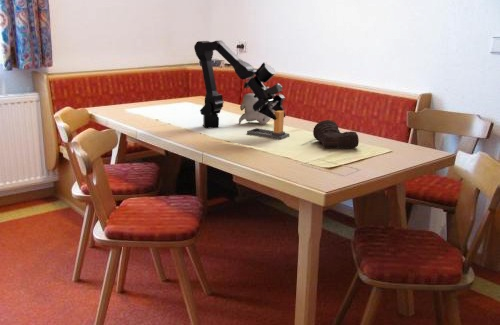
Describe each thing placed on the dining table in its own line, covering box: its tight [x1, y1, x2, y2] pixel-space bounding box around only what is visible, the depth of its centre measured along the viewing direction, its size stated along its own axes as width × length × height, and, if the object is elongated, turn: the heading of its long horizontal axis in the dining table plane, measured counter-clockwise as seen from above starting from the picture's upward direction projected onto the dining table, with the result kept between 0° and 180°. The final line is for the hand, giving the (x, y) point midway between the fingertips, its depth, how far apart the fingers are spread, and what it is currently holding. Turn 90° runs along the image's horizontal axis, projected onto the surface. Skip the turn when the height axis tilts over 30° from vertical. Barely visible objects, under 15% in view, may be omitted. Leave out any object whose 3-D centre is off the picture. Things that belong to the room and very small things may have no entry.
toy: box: [238, 92, 275, 125], centre depth 232 cm, size 8×15×20 cm
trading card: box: [300, 161, 361, 177], centre depth 170 cm, size 11×1×18 cm
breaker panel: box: [246, 127, 290, 141], centre depth 211 cm, size 18×12×2 cm, turn 57°
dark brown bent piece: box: [312, 119, 360, 149], centre depth 198 cm, size 10×15×15 cm
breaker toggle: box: [271, 110, 286, 136], centre depth 206 cm, size 4×5×11 cm
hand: (280, 118), depth 205 cm, fingers open, 7 cm apart
